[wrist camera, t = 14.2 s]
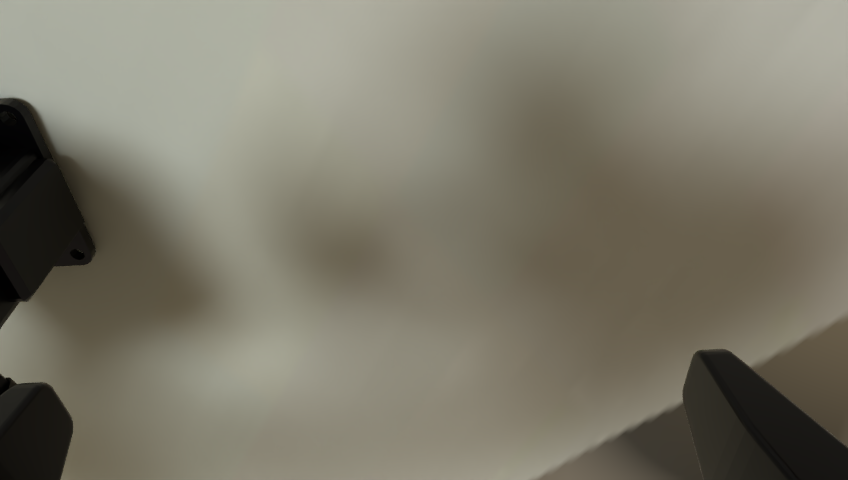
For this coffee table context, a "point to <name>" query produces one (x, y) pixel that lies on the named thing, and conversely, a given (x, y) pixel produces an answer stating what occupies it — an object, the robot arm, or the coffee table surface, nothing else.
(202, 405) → the coffee table surface
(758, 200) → the coffee table surface
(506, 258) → the coffee table surface
